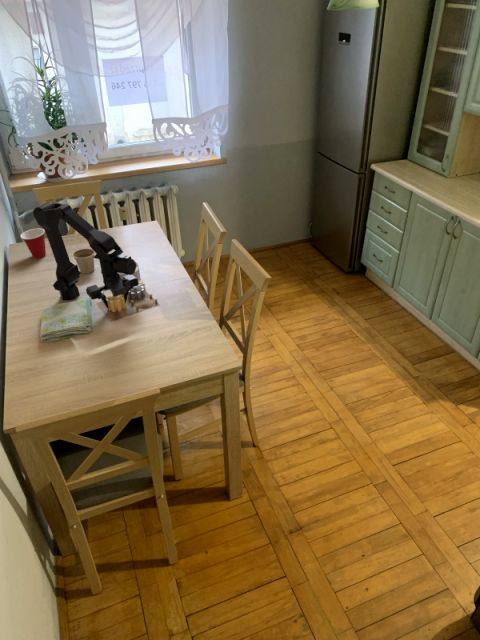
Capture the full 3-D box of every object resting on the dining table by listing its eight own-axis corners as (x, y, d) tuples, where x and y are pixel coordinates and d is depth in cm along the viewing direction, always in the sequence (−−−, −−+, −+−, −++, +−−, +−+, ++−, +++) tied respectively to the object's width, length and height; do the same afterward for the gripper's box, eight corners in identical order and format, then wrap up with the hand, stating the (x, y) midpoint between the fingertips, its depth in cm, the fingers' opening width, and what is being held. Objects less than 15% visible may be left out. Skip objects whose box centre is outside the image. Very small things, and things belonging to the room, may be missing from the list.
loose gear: (111, 314, 176) (109, 301, 173) (105, 306, 181) (102, 294, 178) (128, 308, 179) (126, 296, 176) (121, 301, 184) (119, 288, 181)
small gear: (139, 292, 190) (138, 285, 189) (131, 288, 192) (131, 282, 191) (147, 288, 193) (147, 282, 192) (140, 285, 195) (139, 279, 194)
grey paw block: (117, 290, 193) (114, 272, 188) (114, 276, 203) (110, 258, 199) (142, 286, 196) (139, 268, 191) (138, 272, 206) (135, 254, 201)
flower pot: (95, 275, 204) (91, 257, 199) (73, 275, 204) (69, 258, 200) (100, 265, 212) (97, 248, 207) (80, 265, 212) (76, 248, 207)
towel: (40, 345, 164) (37, 333, 161) (45, 313, 180) (41, 302, 178) (94, 336, 167) (91, 325, 164) (93, 306, 184) (90, 295, 181)
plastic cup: (26, 253, 223) (19, 230, 217) (49, 249, 227) (43, 226, 220) (27, 263, 215) (20, 239, 208) (52, 258, 219) (45, 234, 212)
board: (111, 324, 173) (110, 318, 171) (96, 305, 184) (95, 300, 182) (160, 307, 182) (159, 301, 180) (143, 290, 193) (142, 285, 191)
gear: (132, 301, 184) (130, 293, 181) (125, 294, 188) (124, 286, 186) (147, 296, 187) (146, 288, 185) (140, 289, 191) (139, 281, 189)
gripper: (92, 286, 161) (100, 323, 170) (141, 270, 169) (147, 306, 178) (81, 273, 169) (90, 309, 177) (129, 259, 177) (135, 294, 186)
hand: (116, 305), depth 179 cm, fingers closed on loose gear, 7 cm apart
